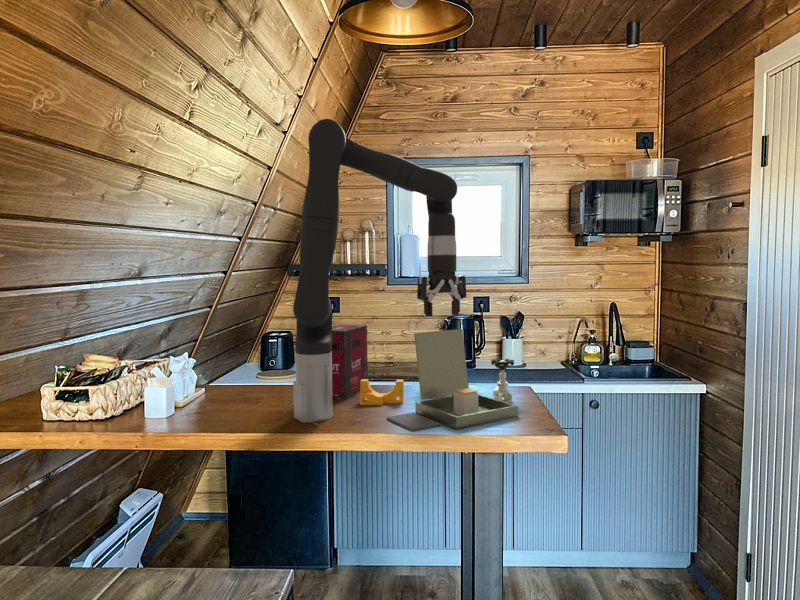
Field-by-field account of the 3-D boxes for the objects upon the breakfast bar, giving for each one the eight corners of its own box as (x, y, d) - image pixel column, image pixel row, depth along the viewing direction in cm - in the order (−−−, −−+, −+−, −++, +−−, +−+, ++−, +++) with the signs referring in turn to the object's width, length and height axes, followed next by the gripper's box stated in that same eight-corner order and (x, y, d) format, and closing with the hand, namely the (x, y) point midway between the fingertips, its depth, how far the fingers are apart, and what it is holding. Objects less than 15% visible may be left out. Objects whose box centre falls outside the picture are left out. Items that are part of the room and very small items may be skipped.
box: (342, 386, 180) (341, 324, 178) (367, 388, 177) (367, 325, 176) (318, 397, 164) (316, 330, 163) (345, 400, 161) (344, 331, 160)
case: (456, 430, 131) (456, 383, 130) (407, 410, 149) (407, 369, 149) (518, 417, 141) (518, 374, 140) (465, 400, 159) (465, 362, 159)
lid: (415, 333, 148) (412, 333, 149) (422, 399, 146) (418, 399, 148) (462, 329, 156) (458, 329, 157) (469, 392, 154) (465, 392, 156)
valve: (495, 406, 153) (495, 362, 152) (487, 400, 159) (487, 358, 159) (518, 405, 154) (518, 362, 153) (509, 399, 160) (509, 358, 160)
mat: (412, 431, 130) (412, 428, 130) (386, 419, 140) (386, 417, 140) (440, 425, 134) (440, 423, 134) (413, 414, 144) (413, 412, 144)
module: (464, 416, 140) (464, 393, 140) (453, 412, 144) (453, 390, 144) (478, 414, 143) (478, 391, 142) (467, 410, 146) (467, 387, 146)
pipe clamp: (359, 405, 156) (359, 382, 155) (362, 401, 160) (361, 379, 160) (402, 405, 154) (402, 382, 154) (403, 402, 159) (403, 379, 158)
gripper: (427, 253, 138) (428, 318, 139) (472, 253, 146) (472, 315, 147) (411, 254, 144) (411, 316, 146) (454, 254, 152) (455, 313, 153)
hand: (442, 315), depth 146 cm, fingers open, 8 cm apart
